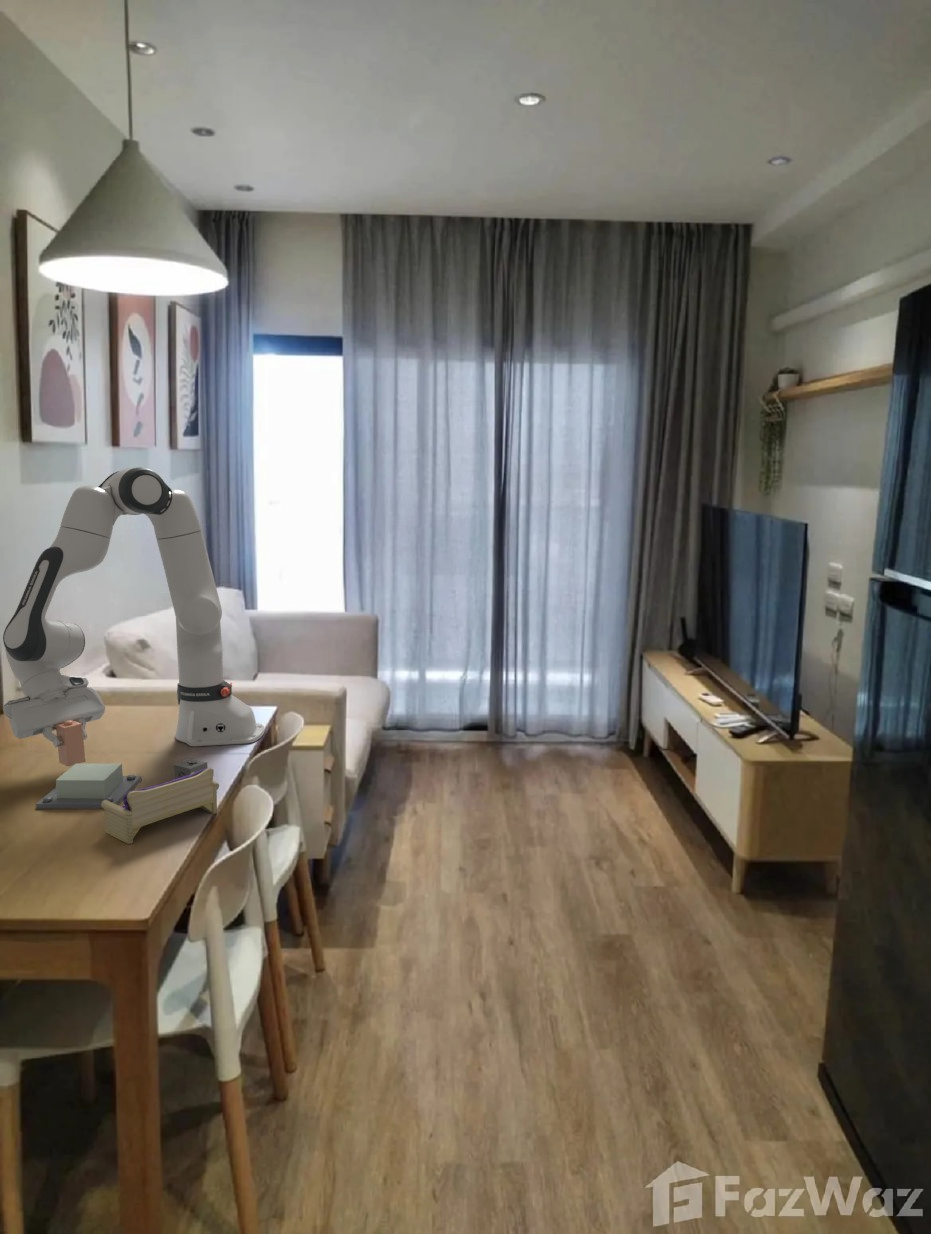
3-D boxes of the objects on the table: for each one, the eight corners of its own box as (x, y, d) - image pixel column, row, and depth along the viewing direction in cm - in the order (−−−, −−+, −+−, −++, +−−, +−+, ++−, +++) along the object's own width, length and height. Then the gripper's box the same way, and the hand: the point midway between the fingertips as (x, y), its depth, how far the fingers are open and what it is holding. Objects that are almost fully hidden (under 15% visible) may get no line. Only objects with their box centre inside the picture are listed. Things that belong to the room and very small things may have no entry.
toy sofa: (196, 802, 182) (194, 755, 180) (221, 812, 176) (219, 765, 174) (102, 834, 165) (98, 784, 164) (126, 847, 160) (123, 795, 158)
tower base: (141, 780, 193) (140, 759, 192) (114, 808, 177) (113, 785, 176) (69, 780, 192) (68, 758, 191) (36, 808, 177) (34, 785, 176)
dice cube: (191, 790, 187) (190, 769, 186) (174, 786, 190) (173, 764, 189) (208, 783, 192) (207, 762, 191) (192, 779, 194) (191, 758, 193)
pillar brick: (76, 757, 198) (72, 717, 196) (85, 761, 195) (81, 721, 193) (59, 762, 194) (55, 722, 193) (68, 766, 192) (64, 725, 190)
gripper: (3, 694, 188) (28, 746, 184) (93, 676, 204) (118, 723, 199) (-4, 710, 191) (21, 762, 187) (85, 691, 207) (109, 738, 203)
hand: (71, 742), depth 193 cm, fingers closed on pillar brick, 4 cm apart
